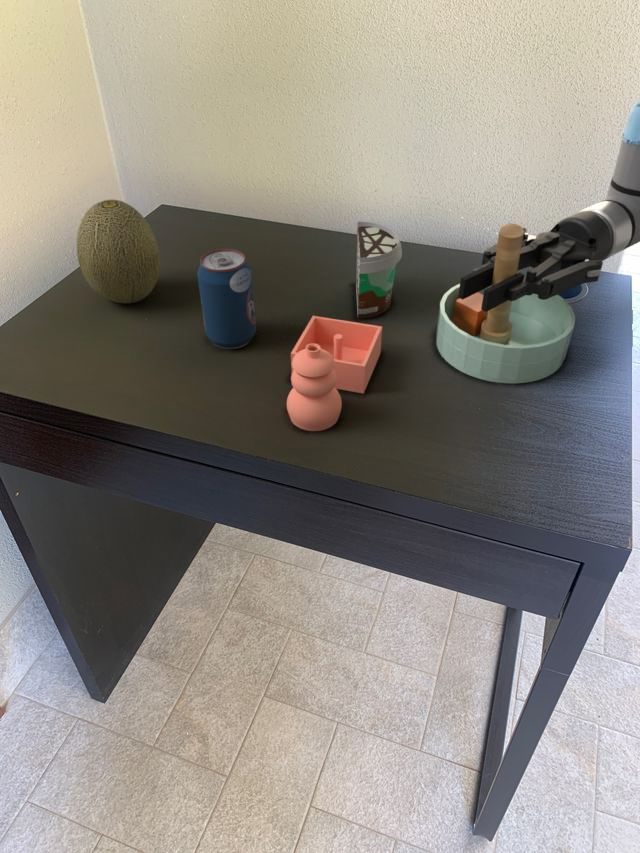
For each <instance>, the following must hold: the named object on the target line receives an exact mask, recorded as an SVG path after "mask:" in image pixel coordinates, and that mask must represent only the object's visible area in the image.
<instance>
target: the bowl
mask: <svg viewBox="0 0 640 853" xmlns="http://www.w3.org/2000/svg"><path fill="white" fill-rule="evenodd" d="M491 286H492V285H491ZM491 286H489V287H491ZM489 287H487V288H489ZM459 288H460V283H458V284H456V285H455V286H454V285H453V286H452V287H451V288H450V289H449V290H447V291H446V292H445V293H444V294H443V296H442V298H441V300H440V301H439V308H438V317H437V323H436V324H437V325H436V331H435V332H436V333H435V335H436V337H435V344H436V348H437V350H438V352H439V354H440V356H441V357H442V358H443V359H444V361H445V362H447V364H449V365H450V366H452V367H453V368H454V369H456V370H458V371H459V372H461V373H463V374H465V375H467V376H470V377H473V378H476V379H479V380H483V381H486V382H491V383H497V384H526V383H532V382H536V381H540V380H543V379H545V378H548V377H549V376H551V375H553V374H554V373H555V372H557V371H558V370H559V369H560V368H561V367H562V366H563V364H564V361H565V359H566V356H567V353H568V350H569V345H570V342H571V338H572V336H573V331H574V327H575V323H576V316H575V313H574V309H573V308H572V307H571V305H570V304H569V303H568V302H567V300H566V299H565V298H563V297H562V296H560V294H558V295H555V296H553V297H551V298H548V299H546V300H541V299H539V298H538V295H537V294H532V295H530V296H528V295H525V296H523V297H521V298H519V299H517V300H515V301H512V304H511V310H510V316H509V321H510V322H511V324H512V331H511V337H510V340H509V342H508V343H507V344H506V345H504V344H499V343H493V342H488V341H485V340H482V339H481V338H480V334H479V335H477V336H475V337H474V336H471V335H469V334H468V333H466V332H464V331H462V330H460V329H459V328H458V327H457V326H455V325H454V324H453V316H454V309H455V302H456V300H457V299H459V297H458V295H459ZM487 288H485V289H487ZM485 289H483V290H481V291H479V293H481V294H482V295H484V290H485Z"/></svg>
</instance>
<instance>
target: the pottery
mask: <svg viewBox="0 0 640 853" xmlns="http://www.w3.org/2000/svg"><path fill="white" fill-rule="evenodd" d="M382 337H383V326H382V325H381V326H380V325H375V324H368V323H362V322H356V321H349V320H342V319H338V318H337V319H336V318H330V317H324V316H317V315H312V317H311V318H310V320H309V321H308V323H307V325H306V327H305V329H304V330H303V331H302V333H301V335H300V337H299V338H298V340H297V342H296V344H295V345H294V347H293V349H292V351H291V352H290V367H291V368H290V369H291V376H290V381H291V386H292V389H291V390H290V392H289V393H288V396H287V398H286V410H287V413H288V416H289V418H290V422H292V424H293V425H294V426H295V427H297V428H298V429H301V430H304V431H309V432H321V431H325V430H327V429H329V428H332V427H333V426H334V425H335V424H336V423H337V422H338V420H339V418H340V415H341V411H342V408H343V401H342V396H341V395H340V393H339V390H342V391H348V392H354V393H358V394H365V392H366V389H367V387H368V384H369V382H370V380H371V377H372V375H373V373H374V370H375V367H376V365H377V364H378V360H379V358H380V355H381V352H382Z"/></svg>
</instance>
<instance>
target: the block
mask: <svg viewBox="0 0 640 853" xmlns="http://www.w3.org/2000/svg"><path fill="white" fill-rule="evenodd" d="M482 301H483V295H482V294H481V293H479V292H477V293H475V294H473V295H471V296H469V297H467V298H465V299H463V300H462V299H460V298H459V299H457V300H456V302H455V309H454V316H453V324H454V325H455V326H457V327H458V328H459V329H460V330H462V331H464V332H466V333H468V334H469V335H471V336H474V337H475V336H477V335H479V334H480V332H481V325H482V322H483V321H484V320H485V319H486V318H487V315H488V311H487V312H485V311H483V310H481V307H482Z"/></svg>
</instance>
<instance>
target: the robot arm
mask: <svg viewBox="0 0 640 853" xmlns="http://www.w3.org/2000/svg"><path fill="white" fill-rule="evenodd" d="M522 228H523V229H524V235H523V240H522V246H521V252H520V258H519V264H518V269H517V274H515V275H514V276H511V277H509V278H507V279H505V280H503V281H501V282H499V283H497V284H495V285H493V286H491V285H492V279H493V272H494V265H495V258H496V250H497V243H495V244H494V245H492V246H491V247H489V248H487V249H485V250H484V251H483V255H482V260H481V265H479V266H478V267H475V268H474V269H473V270H472V272H470V273H468V274H466V275H464V276H462V277H460V281H459V284H460V288H459V295H458V297H459V298H460V299H462V300H463V299H465V298H467V297H469V296H471V295H473V294H475V293H477V292H479V291H481V290H483V289H485V288H487V287H489V286H491V287H489V288H487V289H485V290H484V295H483V301H482V307H481V310H483V311H485V312H487V311H489V310H491V309H493V308H495V307H497V306H498V305H500V304H502V303H504V302H506V301H508V300H510V301H515V300H517V299H519V298H521V297H523V296H525V295H528V296H530V295H532V294H537V295H538V298H539V299H541V300H546V299H548V298H551V297H553V296H555V295H561V294H562V293H564V292H567V291H569V290H571V289H573V288H576V287H578V286H581V285H583V284H589V283H595V282H598V281H599V278H600V275H601V272H602V268H603V264H604V262H603V261H605V260H607V259H609V258H611V257H613V256H615V255H617V254H619V253H620V252H623V251H624V250H627V249H629V248H630V247H632V246H635V245H637V244H638V243H640V99H639V100H637V102H635V104H634V105H633V106H632V109H631V111H630V114H629V115H628V119H627V121H626V125H625V127H624V130H623V133H622V135H621V141H620V145H619V150H618V154H617V157H616V161H615V165H614V169H613V173H612V177H611V180H610V183H609V186H608V190H607V193H606V196H605V199H603V200H601V201H599V202H597V203H595V204H593V205H590V206H588V207H586V208H584V209H581V210H580V211H578V212H576V213H573V214H571V215H569V216H567V217H565V218H563V219H561V220H559V221H558V222H557V223H556V224H555V225H554V226H553V228H551V229H550V230H549V231H546V232H545V231H544V232H540V233H538V234H537V235H533V234H530V233H528V232H527V230H528V229H527V228H526V227H522ZM530 267H531V268H532V269H530ZM524 269H527V270H526V276H525V274H524V273H522V272H518V271H522V270H524Z"/></svg>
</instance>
